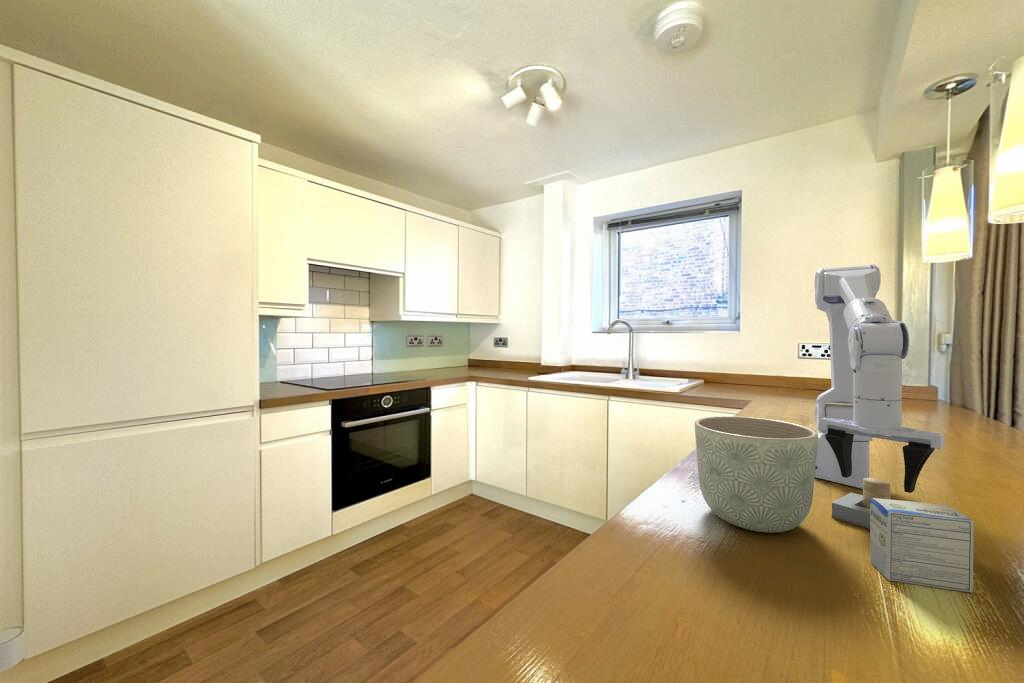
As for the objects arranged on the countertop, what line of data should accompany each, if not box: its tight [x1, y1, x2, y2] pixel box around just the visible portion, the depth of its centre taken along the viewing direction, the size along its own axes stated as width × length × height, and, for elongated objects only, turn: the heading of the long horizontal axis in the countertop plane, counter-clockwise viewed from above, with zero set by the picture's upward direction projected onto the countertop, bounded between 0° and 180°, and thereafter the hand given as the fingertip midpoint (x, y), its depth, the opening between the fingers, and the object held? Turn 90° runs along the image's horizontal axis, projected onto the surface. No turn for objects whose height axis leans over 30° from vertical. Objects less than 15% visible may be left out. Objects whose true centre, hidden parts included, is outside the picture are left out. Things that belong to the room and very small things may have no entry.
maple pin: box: [862, 477, 891, 509], centre depth 64 cm, size 3×3×6 cm
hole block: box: [831, 492, 870, 530], centre depth 64 cm, size 9×8×2 cm
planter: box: [694, 415, 819, 534], centre depth 64 cm, size 17×17×15 cm
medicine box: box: [869, 498, 975, 593], centre depth 49 cm, size 8×4×9 cm, turn 71°
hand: (876, 483), depth 64 cm, fingers open, 7 cm apart
